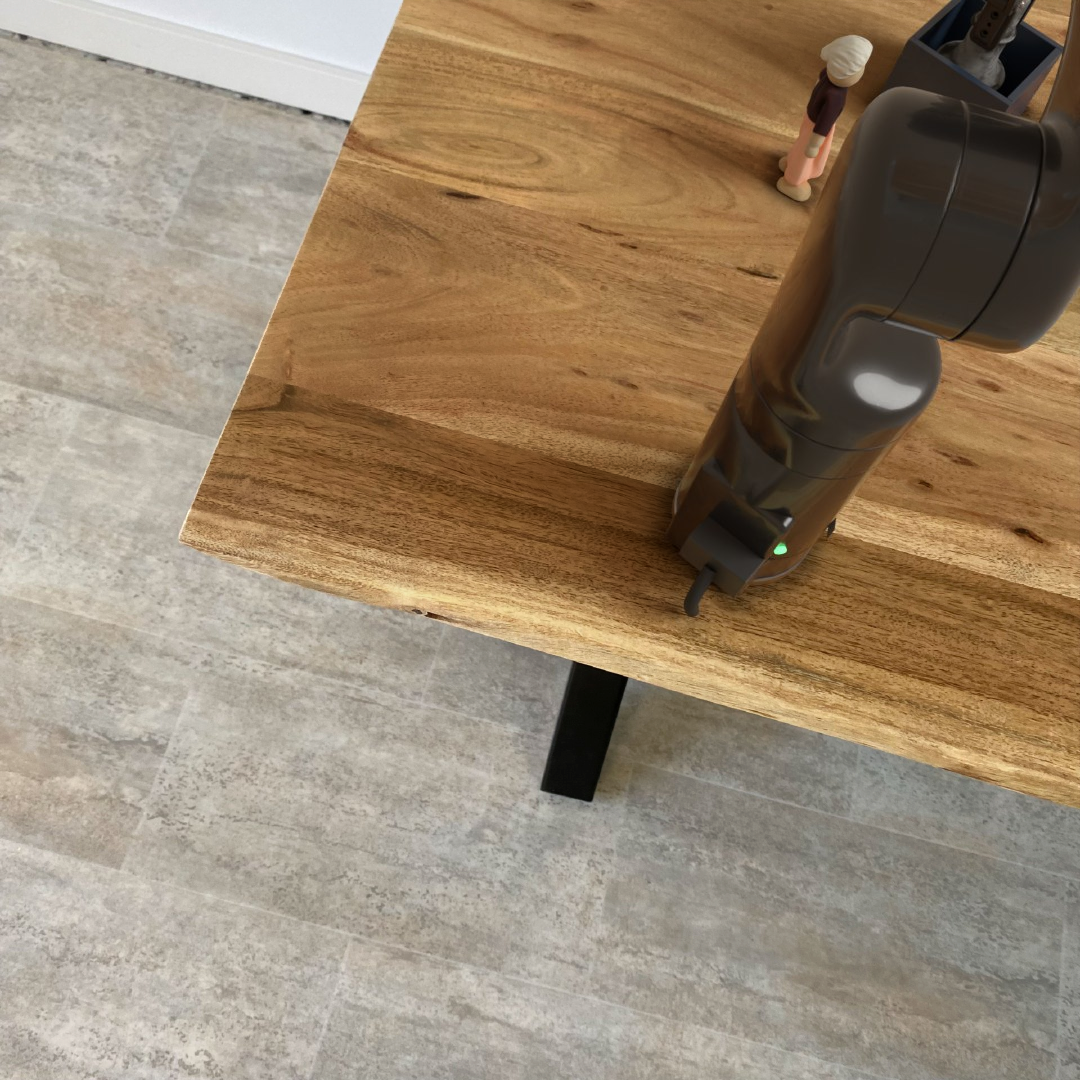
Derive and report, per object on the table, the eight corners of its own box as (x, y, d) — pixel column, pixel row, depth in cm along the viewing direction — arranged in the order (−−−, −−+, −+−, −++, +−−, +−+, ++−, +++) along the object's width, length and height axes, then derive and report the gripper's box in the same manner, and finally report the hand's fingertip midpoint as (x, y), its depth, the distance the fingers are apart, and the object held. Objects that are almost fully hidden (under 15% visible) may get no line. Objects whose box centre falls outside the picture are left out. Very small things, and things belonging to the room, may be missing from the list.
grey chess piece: (982, 135, 89) (1064, 8, 78) (913, 117, 89) (986, -12, 78) (984, 85, 91) (1063, -44, 80) (917, 68, 91) (987, -63, 80)
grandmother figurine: (823, 213, 84) (891, 82, 72) (775, 208, 83) (836, 75, 72) (814, 140, 87) (878, 3, 76) (768, 135, 87) (825, -4, 75)
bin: (967, 169, 88) (1009, 105, 82) (874, 105, 90) (908, 38, 84) (1022, 112, 91) (1066, 47, 86) (931, 52, 93) (967, -16, 87)
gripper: (1133, -125, 65) (990, 102, 80) (1227, -213, 70) (1076, 15, 86) (1028, -188, 66) (907, 47, 81) (1128, -269, 72) (997, -35, 87)
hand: (995, 29), depth 83 cm, fingers closed on grey chess piece, 3 cm apart
